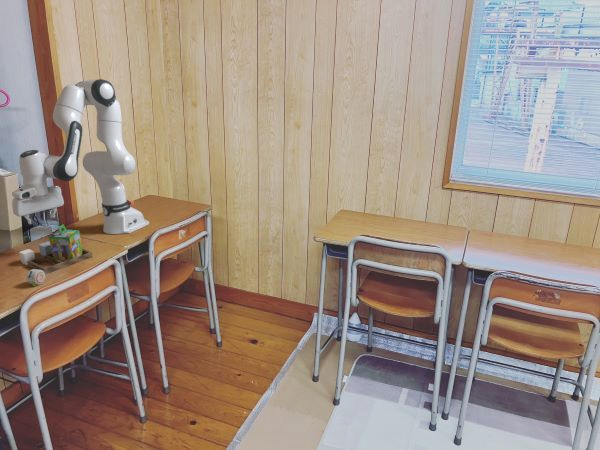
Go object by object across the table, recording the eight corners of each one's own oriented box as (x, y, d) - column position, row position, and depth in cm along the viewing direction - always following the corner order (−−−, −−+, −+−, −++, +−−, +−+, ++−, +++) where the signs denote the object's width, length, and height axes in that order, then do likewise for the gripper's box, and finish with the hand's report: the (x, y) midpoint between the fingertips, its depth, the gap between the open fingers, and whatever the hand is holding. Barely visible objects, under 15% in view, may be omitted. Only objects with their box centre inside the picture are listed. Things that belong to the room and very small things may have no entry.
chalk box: (73, 262, 209) (67, 230, 204) (52, 262, 210) (46, 229, 205) (84, 253, 218) (79, 222, 213) (64, 253, 219) (58, 221, 213)
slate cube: (51, 251, 222) (49, 241, 220) (57, 254, 219) (55, 243, 217) (40, 255, 218) (38, 244, 216) (46, 257, 215) (44, 247, 213)
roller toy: (26, 286, 190) (23, 272, 188) (38, 279, 196) (35, 265, 194) (36, 287, 189) (33, 274, 187) (47, 280, 195) (45, 267, 193)
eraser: (31, 259, 213) (28, 248, 212) (35, 261, 211) (33, 251, 209) (21, 262, 210) (19, 251, 209) (26, 265, 208) (23, 254, 206)
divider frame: (75, 249, 223) (74, 245, 222) (92, 257, 215) (91, 252, 215) (28, 265, 207) (27, 261, 206) (45, 274, 200) (44, 269, 199)
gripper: (56, 183, 218) (61, 213, 222) (7, 193, 202) (14, 225, 207) (63, 185, 214) (68, 215, 219) (15, 196, 199) (21, 228, 203)
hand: (42, 220), depth 213 cm, fingers open, 8 cm apart
